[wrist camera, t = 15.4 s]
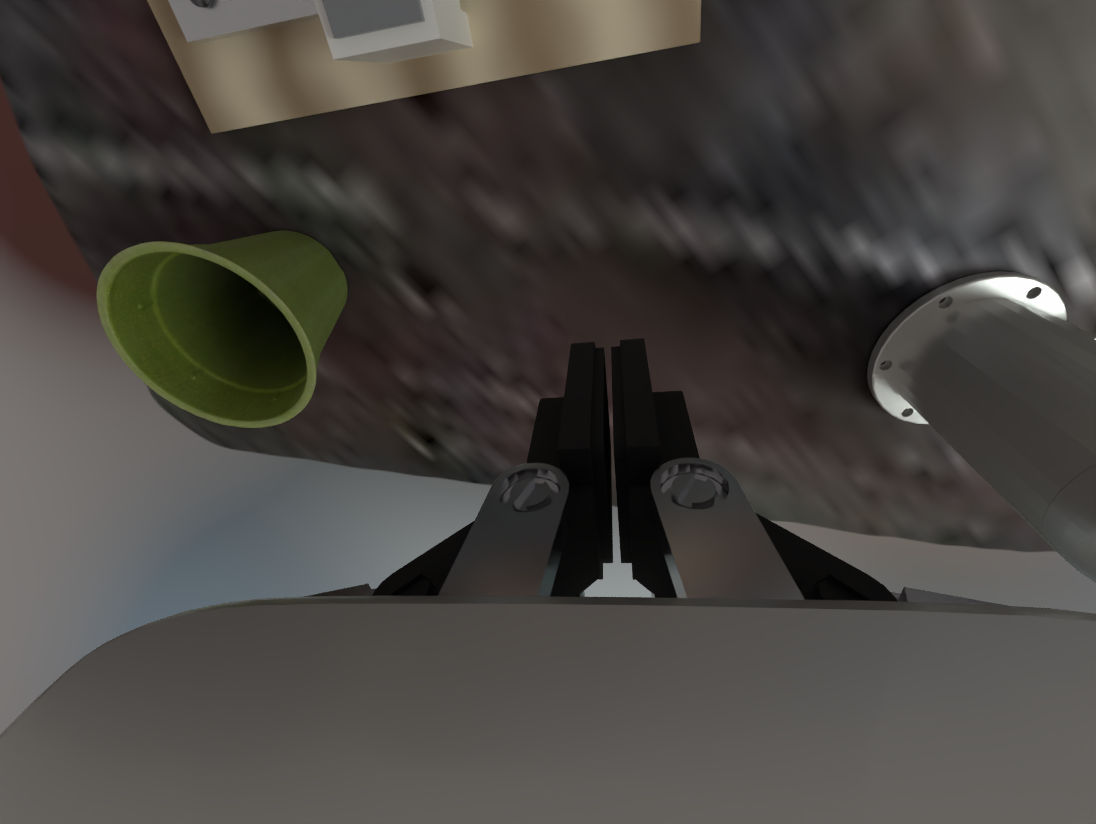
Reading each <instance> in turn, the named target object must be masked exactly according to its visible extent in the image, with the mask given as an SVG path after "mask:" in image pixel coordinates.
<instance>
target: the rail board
mask: <svg viewBox="0 0 1096 824" xmlns="http://www.w3.org/2000/svg"><path fill="white" fill-rule="evenodd" d="M147 1H148V3H149V5H150V7H151V9H152V11H153V14H154V16H155V18H156V20H157V22H158V24H159V26H160V28H161V30H162V32H163V34H164V36H165V38H166V40H167V43H168V45H169V47H170V49H171V51H172V53H173V55H174V57H175V59H176V61H177V63H178V65H179V67H180V69H181V72H182V74H183V76H184V78H185V80H186V82H187V84H188V86H189V88H190V90H191V92H192V94H193V96H194V98H195V100H196V103H197V105H198V107H199V109H200V111H201V113H202V115H203V117H204V119H205V121H206V123H207V125H208V127H209V129H210V132H211V134H213V133H219V132H225V131H230V130H236V129H241V128H246V127H252V126H257V125H262V124H267V123H273V122H278V121H283V120H289V119H294V118H299V117H305V116H310V115H315V114H321V113H326V112H331V111H337V110H342V109H347V108H353V107H358V106H363V105H369V104H374V103H379V102H385V101H390V100H395V99H401V98H406V97H411V96H417V95H422V94H427V93H433V92H438V91H443V90H449V89H454V88H459V87H465V86H470V85H475V84H481V83H486V82H491V81H497V80H502V79H507V78H513V77H518V76H523V75H529V74H534V73H539V72H545V71H550V70H555V69H561V68H566V67H571V66H577V65H582V64H587V63H593V62H598V61H603V60H609V59H614V58H619V57H625V56H630V55H635V54H641V53H646V52H651V51H657V50H662V49H667V48H673V47H678V46H683V45H689V44H694V43H698V42H700V23H701V0H459V3H460V8H461V10H463V11H464V12H466V13H467V17H468V23H469V28H470V33H471V39H472V44H473V47H471V48H466V49H461V50H456V51H451V52H446V53H440V54H435V55H430V56H425V57H420V58H415V59H409V60H404V61H399V62H394V63H376V62H362V61H348V60H333V57H332V54H331V51H330V48H329V45H328V41H327V38H326V35H325V32H324V29H323V26H322V23H321V20H320V18H316V19H312V20H307V21H302V22H298V23H293V24H289V25H284V26H279V27H275V28H270V29H266V30H261V31H256V32H252V33H247V34H243V35H238V36H233V37H229V38H224V39H220V40H215V41H210V42H206V43H192V42H187V40H186V38H185V36H184V34H183V31H182V29H181V27H180V25H179V23H178V21H177V18H176V16H175V14H174V12H173V10H172V8H171V6H170V3H169V1H168V0H147Z"/></svg>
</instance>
